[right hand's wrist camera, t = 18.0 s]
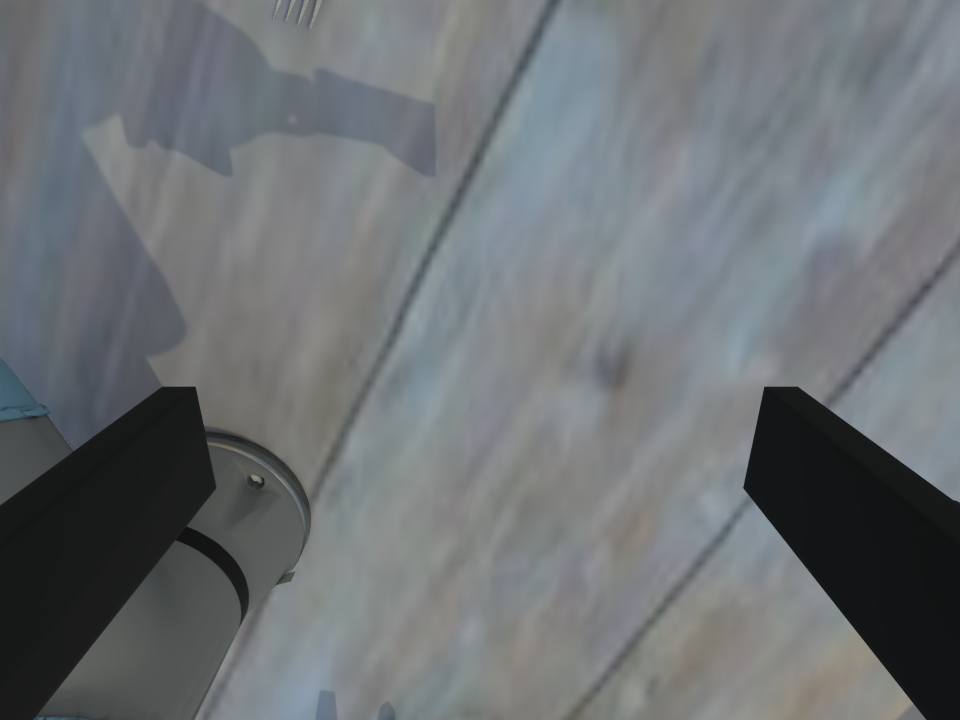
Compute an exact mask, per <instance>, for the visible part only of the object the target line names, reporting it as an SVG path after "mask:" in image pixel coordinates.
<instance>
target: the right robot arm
mask: <svg viewBox="0 0 960 720" xmlns="http://www.w3.org/2000/svg"><path fill="white" fill-rule="evenodd" d="M49 413H50V411H49V409H48V408H47V406H45V405H41V404H38V403H37V401H36V400H35V399H34V398H33V396H32V395H31V394H30V393H29V391H28V390H27V389H26V388H25V386H24V385H23V384H22V383H21V381H20V380H19V379H18V378H17V377H16V375H15V374H14V373H13V372H12V370H11V369H10V368H9V367H8V365H7V364H6V363H5V362H4V361H3V360H2V359H1V358H0V720H195V718H196V715H197V713H198V711H199V709H200V707H201V705H202V703H203V701H204V699H205V697H206V695H207V693H208V691H209V689H210V687H211V685H212V683H213V681H214V679H215V677H216V674H217V672H218V670H219V668H220V666H221V664H222V662H223V660H224V658H225V656H226V654H227V652H228V650H229V648H230V646H231V644H232V642H233V640H234V638H235V635H236V633H237V631H238V629H239V627H240V625H241V623H242V621H243V619H244V617H245V616H246V614H247V613H248V612H249V611H250V610H251V609H252V608H253V607H254V606H255V605H256V604H257V603H258V602H259V601H260V600H261V599H262V598H263V597H264V596H265V595H266V594H267V593H268V592H269V591H270V590H271V589H272V588H273V587H274V586H276V585H278V584H282V583H286V582H290V581H291V580H292V578H293V576H294V573H295V572H292V573H290V572H291V570H292V569H293V568H294V567H295V565H296V563H297V562H298V560H299V558H300V556H301V553H302V551H303V549H304V547H305V544H306V542H307V540H308V536H309V533H310V527H311V516H310V508H309V504H308V501H307V497H306V495H305V493H304V491H303V489H302V487H301V485H300V483H299V482H298V480H297V479H296V478H295V476H294V475H293V474H292V473H291V471H290V470H289V469H288V468H287V467H286V466H285V465H284V464H283V463H282V462H281V461H279V460H278V459H277V458H276V457H275V456H273V455H272V454H270V453H269V452H267V451H266V450H264V449H262V448H261V447H259V446H257V445H255V444H253V443H251V442H248V441H245V440H243V439H240V438H237V437H233V436H229V435H224V434H218V433H205V430H204V425H203V420H202V415H201V411H200V406H199V401H198V396H197V392H196V387H161V388H160V389H159V390H157V391H156V392H154V393H153V394H152V395H150V396H149V397H148V398H146V399H145V400H144V401H142V402H141V403H139V404H138V405H137V406H135V407H134V408H133V409H131V410H130V411H128V412H127V413H126V414H124V415H123V416H122V417H120V418H119V419H117V420H116V421H115V422H113V423H112V424H111V425H109V426H108V427H107V428H105V429H104V430H102V431H101V432H100V433H98V434H97V435H96V436H94V437H93V438H91V439H90V440H89V441H87V442H86V443H85V444H83V445H82V446H80V447H79V448H78V449H76V450H75V451H74V452H73V451H72V449H71V448H70V446H69V445H68V444H67V442H66V441H65V439H64V438H63V437H62V435H61V434H60V432H59V431H58V430H57V428H56V427H55V425H54V424H53V423H52V421H51V420H50V418H49V417H48V416H47V414H49ZM743 488H744V490H745V491H746V492H747V493H748V495H749V496H750V497H751V498H752V500H753V501H754V502H755V503H756V505H757V506H758V507H759V509H760V510H761V511H762V512H763V514H764V515H765V516H766V517H767V519H768V520H769V521H770V522H771V524H772V525H773V526H774V527H775V529H776V530H777V531H778V533H779V534H780V535H781V536H782V538H783V539H784V540H785V541H786V543H787V544H788V545H789V546H790V548H791V549H792V550H793V552H794V553H795V554H796V555H797V557H798V558H799V559H800V560H801V562H802V563H803V564H804V565H805V567H806V568H807V569H808V571H809V572H810V573H811V574H812V576H813V577H814V578H815V579H816V581H817V582H818V583H819V584H820V586H821V587H822V588H823V590H824V591H825V592H826V593H827V595H828V596H829V597H830V598H831V600H832V601H833V602H834V603H835V605H836V606H837V607H838V608H839V610H840V611H841V612H842V614H843V615H844V616H845V617H846V619H847V620H848V621H849V622H850V624H851V625H852V626H853V627H854V629H855V630H856V631H857V633H858V634H859V635H860V636H861V638H862V639H863V640H864V641H865V643H866V644H867V645H868V646H869V648H870V649H871V650H872V652H873V653H874V654H875V655H876V657H877V658H878V659H879V660H880V662H881V663H882V664H883V665H884V667H885V668H886V669H887V670H888V672H889V673H890V674H891V676H892V677H893V678H894V679H895V681H896V682H897V683H898V684H899V686H900V687H901V688H902V689H903V691H904V692H905V693H906V695H907V696H908V697H909V698H910V700H911V701H912V702H913V703H914V705H915V706H916V707H917V708H918V710H919V711H920V712H921V713H922V715H923V716H924V717H925V719H926V720H960V503H959V502H957V501H953V500H952V499H951V498H949V497H948V496H947V495H945V494H944V493H943V492H941V491H940V490H938V489H937V488H936V487H934V486H933V485H932V484H930V483H929V482H927V481H926V480H925V479H923V478H922V477H921V476H919V475H918V474H916V473H915V472H914V471H912V470H911V469H910V468H908V467H907V466H906V465H904V464H903V463H901V462H900V461H899V460H897V459H896V458H895V457H893V456H892V455H890V454H889V453H888V452H886V451H885V450H884V449H882V448H881V447H880V446H878V445H877V444H875V443H874V442H873V441H871V440H870V439H869V438H867V437H866V436H864V435H863V434H862V433H860V432H859V431H858V430H856V429H855V428H853V427H852V426H851V425H849V424H848V423H847V422H845V421H844V420H843V419H841V418H840V417H838V416H837V415H836V414H834V413H833V412H832V411H830V410H829V409H827V408H826V407H825V406H823V405H822V404H821V403H819V402H818V401H816V400H815V399H814V398H812V397H811V396H810V395H808V394H807V393H806V392H804V391H803V390H801V389H800V388H799V387H764V392H763V396H762V401H761V406H760V411H759V415H758V420H757V425H756V430H755V435H754V439H753V444H752V449H751V454H750V458H749V463H748V468H747V473H746V478H745V482H744V487H743Z"/></svg>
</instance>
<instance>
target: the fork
mask: <svg viewBox="0 0 960 720" xmlns="http://www.w3.org/2000/svg"><path fill="white" fill-rule="evenodd" d="M282 1H283V0H278V2H277V6H276V10H275V13H274V16H273V20H275V18H276V16H277V13H278V11H279V9H280V6H281V4H282ZM322 1H323V0H317V1H316V6H315V10H314V14H313V18H312V22H311V25H310V30H312V27H313V25H314V22H315V19H316V17H317V14H318V12H319V9H320V6H321V4H322ZM295 2H296V0H291V2H290V6H289V10H288V14H287V18H286V23H287V22H288V20H289V17H290V15H291V12H292V10H293V7H294V5H295ZM308 3H309V0H304V2H303V6H302V10H301V14H300V18H299V22H298V26H300V23H301V21H302V18H303V16H304V13H305V11H306V8H307V6H308Z"/></svg>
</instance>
